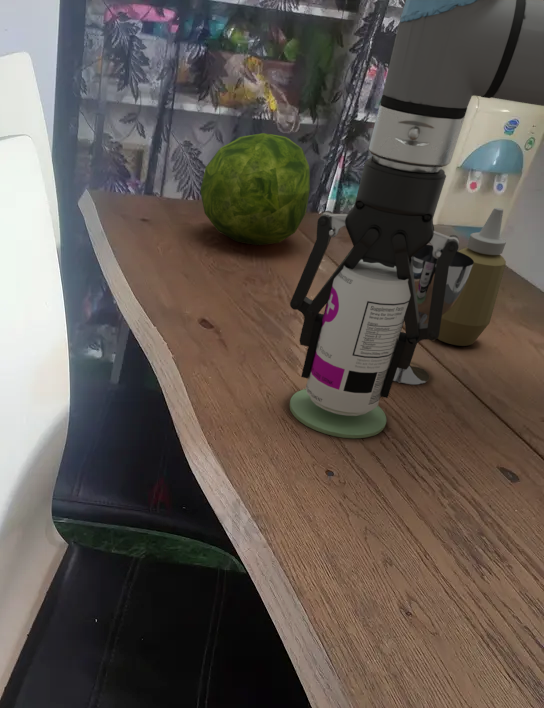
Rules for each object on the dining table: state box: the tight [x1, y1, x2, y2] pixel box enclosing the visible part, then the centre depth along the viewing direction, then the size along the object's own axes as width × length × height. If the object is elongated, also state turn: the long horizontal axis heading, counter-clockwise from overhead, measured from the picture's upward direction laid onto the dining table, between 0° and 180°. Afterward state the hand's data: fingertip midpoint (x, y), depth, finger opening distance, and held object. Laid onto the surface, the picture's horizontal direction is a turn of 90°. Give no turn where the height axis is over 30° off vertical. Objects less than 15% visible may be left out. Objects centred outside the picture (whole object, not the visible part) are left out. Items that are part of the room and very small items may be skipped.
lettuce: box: [199, 132, 311, 246], centre depth 131 cm, size 19×23×18 cm
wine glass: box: [393, 244, 474, 385], centre depth 91 cm, size 8×8×15 cm
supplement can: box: [305, 259, 411, 416], centre depth 79 cm, size 8×8×15 cm
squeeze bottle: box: [436, 207, 507, 347], centre depth 101 cm, size 8×8×18 cm
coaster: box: [289, 388, 387, 439], centre depth 84 cm, size 11×11×1 cm
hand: (345, 382), depth 82 cm, fingers closed on supplement can, 8 cm apart
